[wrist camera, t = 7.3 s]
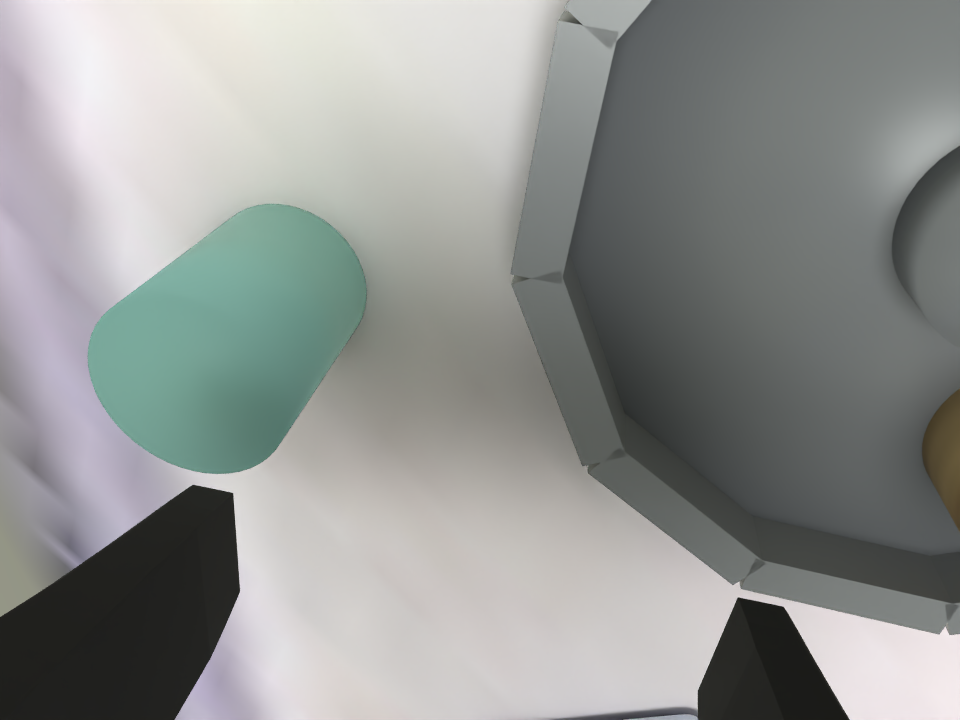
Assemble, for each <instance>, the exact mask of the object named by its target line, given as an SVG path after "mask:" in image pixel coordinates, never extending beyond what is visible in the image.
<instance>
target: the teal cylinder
mask: <svg viewBox="0 0 960 720" xmlns="http://www.w3.org/2000/svg"><path fill="white" fill-rule="evenodd" d="M365 305H366V282H365V277H364V273H363V270H362V267H361V265H360V262H359V260H358V258H357V256H356V254H355V253H354V251H353V249H352V248H351V247H350V245H349V244H348V242H347V241H346V240H345V239H344V238H343V237H342V235H341V234H340V233H339V232H338V231H337V230H335V229H334V228H333V227H332V226H331V225H330V224H328V223H327V222H325V221H324V220H322V219H321V218H319V217H317V216H316V215H314V214H312V213H310V212H308V211H305V210H303V209H300V208H296V207H293V206H289V205H282V204H264V205H257V206H254V207H250V208H247V209H245V210H243V211H241V212H239V213H237V214H236V215H234V216H233V217H232V218H230V219H229V220H228V221H226V222H225V223H224V224H222V225H221V226H220V227H218V228H217V229H216V230H214V231H213V232H212V233H210V234H209V235H208V236H206V237H205V238H204V239H202V240H201V241H200V242H198V243H197V244H196V245H194V246H193V247H192V248H190V249H189V250H188V251H186V252H185V253H184V254H182V255H181V256H180V257H178V258H177V259H176V260H174V261H173V262H172V263H170V264H169V265H168V266H166V267H165V268H164V269H162V270H161V271H160V272H158V273H157V274H156V275H154V276H153V277H152V278H150V279H149V280H148V281H146V282H145V283H144V284H142V285H141V286H140V287H138V288H137V289H136V290H135V291H133V292H132V293H131V294H129V295H128V296H127V297H125V298H124V299H123V300H121V301H120V302H119V303H117V304H116V305H115V306H113V307H112V308H111V309H109V310H108V311H107V312H106V313H105V314H104V315H103V316H102V317H101V319H100V320H99V321H98V323H97V324H96V326H95V328H94V330H93V332H92V335H91V338H90V342H89V347H88V367H89V372H90V377H91V381H92V384H93V386H94V389H95V392H96V394H97V396H98V398H99V400H100V402H101V404H102V405H103V407H104V408H105V410H106V412H107V413H108V414H109V416H110V417H111V418H112V420H113V421H114V422H115V423H116V424H117V425H118V427H119V428H120V429H121V430H122V431H123V432H124V433H125V434H126V435H127V436H129V437H130V438H131V439H132V440H133V441H134V442H135V443H137V444H138V445H139V446H141V447H142V448H144V449H145V450H146V451H148V452H150V453H151V454H153V455H155V456H156V457H158V458H160V459H162V460H164V461H166V462H168V463H171V464H173V465H176V466H178V467H181V468H185V469H188V470H192V471H197V472H202V473H212V474H226V473H234V472H240V471H243V470H246V469H249V468H252V467H254V466H256V465H258V464H260V463H261V462H263V461H264V460H266V459H267V458H268V457H269V456H270V455H271V454H272V453H273V452H274V451H275V450H276V449H277V447H278V446H279V444H280V443H281V441H282V440H283V438H284V437H285V435H286V434H287V432H288V431H289V429H290V428H291V426H292V425H293V423H294V422H295V420H296V419H297V417H298V416H299V414H300V413H301V411H302V410H303V408H304V407H305V405H306V404H307V402H308V401H309V399H310V398H311V396H312V395H313V393H314V392H315V390H316V389H317V387H318V385H319V384H320V382H321V381H322V379H323V378H324V376H325V375H326V373H327V372H328V370H329V369H330V367H331V366H332V364H333V363H334V361H335V360H336V358H337V357H338V355H339V354H340V352H341V351H342V349H343V348H344V346H345V345H346V343H347V342H348V340H349V339H350V337H351V336H352V334H353V333H354V331H355V329H356V328H357V326H358V325H359V323H360V321H361V319H362V317H363V313H364V310H365Z"/></svg>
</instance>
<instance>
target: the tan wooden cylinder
mask: <svg viewBox="0 0 960 720" xmlns="http://www.w3.org/2000/svg"><path fill="white" fill-rule="evenodd" d="M922 457H923V463H924V466H925V469H926V472H927V474H928V475H929V477H930V479H931V481H932V483H933V485H934V486H935V488H936V490H937V492H938V494H939V495H940V497H941V499H942V501H943V503H944V505H945V506H946V508H947V510H948V512H949V514H950V516H951V517H952V519H953V521H954V523H955V525H956V526H957V528H958V530H959V532H960V389H958V390H957V391H956V392H955V393H954V394H952V395H951V396H950V397H949V398H948V399H947V400H946V401H945V402H944V403H943V404H942V405H941V406H940V407H939V409H938V410H937V411H936V413H935V414H934V415H933V417H932V419H931V421H930V422H929V424H928V426H927V429H926V432H925V434H924V438H923V443H922Z"/></svg>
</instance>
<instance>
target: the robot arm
mask: <svg viewBox="0 0 960 720" xmlns="http://www.w3.org/2000/svg"><path fill="white" fill-rule="evenodd" d="M239 593H240V585H239V571H238V556H237V542H236V528H235V514H234V500H233V493H230V492H225V491H221V490H216V489H211V488H206V487H201V486H196V485H192V486H190V487H189V488H187V489H186V490H184V491H183V492H182V493H180V494H179V495H177V496H176V497H174V498H173V499H172V500H170V501H169V502H167V503H166V504H165V505H163V506H162V507H160V508H159V509H158V510H156V511H155V512H154V513H152V514H151V515H149V516H148V517H147V518H145V519H144V520H142V521H141V522H140V523H138V524H137V525H136V526H134V527H133V528H131V529H130V530H129V531H127V532H126V533H124V534H123V535H122V536H120V537H119V538H117V539H116V540H115V541H113V542H112V543H110V544H109V545H108V546H106V547H105V548H103V549H102V550H101V551H99V552H98V553H96V554H95V555H93V556H92V557H90V558H89V559H87V560H86V561H85V562H83V563H82V564H80V565H79V566H77V567H76V568H74V569H73V570H72V571H70V572H69V573H67V574H66V575H64V576H63V577H61V578H60V579H58V580H57V581H56V582H54V583H53V584H51V585H50V586H48V587H47V588H45V589H44V590H42V591H41V592H39V593H38V594H36V595H34V596H33V597H31V598H30V599H28V600H26V601H25V602H24V603H22V604H20V605H19V606H17V607H16V608H14V609H12V610H11V611H9V612H8V613H6V614H4V615H3V616H1V617H0V720H175V718H176V716H177V715H178V713H179V711H180V710H181V708H182V706H183V704H184V703H185V701H186V699H187V698H188V696H189V694H190V692H191V691H192V689H193V687H194V686H195V684H196V682H197V681H198V679H199V677H200V675H201V674H202V672H203V670H204V668H205V667H206V665H207V663H208V661H209V660H210V658H211V656H212V654H213V652H214V649H215V647H216V645H217V643H218V641H219V639H220V636H221V634H222V632H223V630H224V628H225V625H226V623H227V621H228V618H229V616H230V614H231V611H232V609H233V607H234V604H235V602H236V600H237V597H238V595H239ZM625 720H849V718H848V716H847V715H846V713H845V711H844V710H843V708H842V706H841V705H840V703H839V701H838V699H837V698H836V696H835V694H834V693H833V691H832V689H831V688H830V686H829V684H828V682H827V681H826V679H825V677H824V676H823V674H822V672H821V670H820V669H819V667H818V665H817V663H816V662H815V660H814V658H813V656H812V655H811V653H810V651H809V649H808V648H807V646H806V644H805V642H804V641H803V639H802V637H801V635H800V634H799V632H798V630H797V628H796V627H795V625H794V623H793V621H792V620H791V618H790V616H789V614H788V613H787V611H786V610H785V608H784V607H782V606H777V605H772V604H767V603H762V602H758V601H753V600H748V599H743V598H737V601H736V603H735V605H734V608H733V610H732V612H731V615H730V617H729V619H728V622H727V624H726V626H725V629H724V631H723V633H722V636H721V638H720V640H719V643H718V645H717V647H716V650H715V652H714V654H713V657H712V659H711V661H710V664H709V666H708V668H707V671H706V673H705V675H704V678H703V680H702V683H701V685H700V687H699V690H698V717H696V716H694V715H690V714H680V715H669V716H658V717H647V718H636V719H625Z"/></svg>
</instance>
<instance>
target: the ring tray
mask: <svg viewBox="0 0 960 720" xmlns="http://www.w3.org/2000/svg"><path fill="white" fill-rule="evenodd" d="M564 8H565V9H566V10H567V11H568V12H566V11H564V12H563V14H562V15H561V17H560V18H559V20H558V24H557V29H556V34H555V40H554V45H553V50H552V56H551V61H550V66H549V72H548V77H547V82H546V88H545V93H544V98H543V104H542V109H541V114H540V120H539V125H538V130H537V136H536V141H535V146H534V152H533V157H532V162H531V168H530V173H529V178H528V184H527V189H526V194H525V200H524V205H523V210H522V216H521V221H520V226H519V232H518V237H517V242H516V248H515V253H514V258H513V264H512V269H511V274H512V275H514V278H513V281H512V287H513V289H514V292H515V294H516V297H517V300H518V302H519V305H520V307H521V310H522V312H523V315H524V317H525V320H526V323H527V325H528V328H529V330H530V333H531V335H532V338H533V341H534V343H535V346H536V348H537V351H538V353H539V356H540V358H541V361H542V364H543V366H544V369H545V371H546V374H547V376H548V379H549V382H550V384H551V387H552V389H553V392H554V394H555V397H556V399H557V402H558V405H559V407H560V410H561V412H562V415H563V417H564V420H565V423H566V425H567V428H568V430H569V433H570V435H571V438H572V440H573V443H574V446H575V448H576V451H577V453H578V456H579V458H580V461H581V464H582V466H585V465H588V473H589V474H590V475H591V476H592V477H594V478H595V479H596V480H598V481H599V482H600V483H602V484H603V485H604V486H605V487H607V488H608V489H609V490H611V491H612V492H613V493H614V494H616V495H617V496H618V497H620V498H621V499H622V500H624V501H625V502H626V503H627V504H629V505H630V506H631V507H633V508H634V509H635V510H636V511H638V512H639V513H640V514H642V515H643V516H644V517H645V518H647V519H648V520H649V521H651V522H652V523H653V524H655V525H656V526H657V527H658V528H660V529H661V530H662V531H664V532H665V533H666V534H667V535H669V536H670V537H671V538H673V539H674V540H675V541H677V542H678V543H679V544H680V545H682V546H683V547H684V548H686V549H687V550H688V551H689V552H691V553H692V554H693V555H695V556H696V557H697V558H699V559H700V560H701V561H702V562H704V563H705V564H706V565H708V566H709V567H710V568H711V569H713V570H714V571H715V572H717V573H718V574H719V575H721V576H722V577H723V578H724V579H726V580H727V581H728V582H730V583H731V584H732V585H734V584H735V583H737V582H739V581H740V586H741V589H744V590H749V591H753V592H757V593H762V594H766V595H770V596H775V597H779V598H783V599H788V600H792V601H796V602H801V603H805V604H809V605H814V606H818V607H822V608H827V609H831V610H835V611H840V612H844V613H848V614H853V615H857V616H861V617H866V618H870V619H874V620H879V621H883V622H887V623H892V624H896V625H900V626H905V627H909V628H913V629H918V630H922V631H926V632H931V633H935V634H940V633H941V631H942V630H943V629H944V627H945V626H946V628H947V631H948V633H949V635H954V634H960V532H959V530H958V528H957V526H956V525H955V523H954V521H953V519H952V517H951V516H950V514H949V512H948V510H947V508H946V506H945V505H944V503H943V501H942V499H941V497H940V495H939V494H938V492H937V490H936V488H935V486H934V485H933V483H932V481H931V479H930V477H929V475H928V474H927V472H926V469H925V466H924V463H923V457H922V443H923V438H924V434H925V432H926V429H927V426H928V424H929V422H930V421H931V419H932V417H933V415H934V414H935V413H936V411H937V410H938V409H939V407H940V406H941V405H942V404H943V403H944V402H945V401H946V400H947V399H948V398H949V397H950V396H951V395H952V394H954V393H955V392H956V391H957V390H958V389H960V0H569V1H568V2H567V4H566V5H565V7H564Z"/></svg>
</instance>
